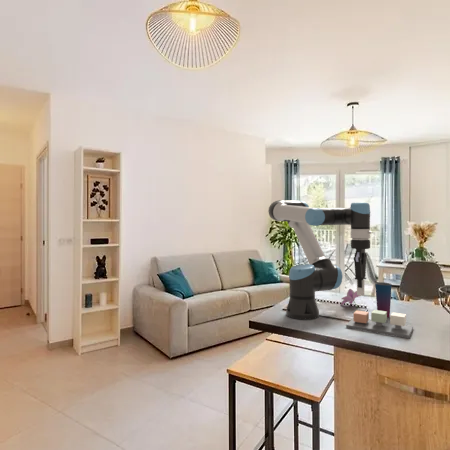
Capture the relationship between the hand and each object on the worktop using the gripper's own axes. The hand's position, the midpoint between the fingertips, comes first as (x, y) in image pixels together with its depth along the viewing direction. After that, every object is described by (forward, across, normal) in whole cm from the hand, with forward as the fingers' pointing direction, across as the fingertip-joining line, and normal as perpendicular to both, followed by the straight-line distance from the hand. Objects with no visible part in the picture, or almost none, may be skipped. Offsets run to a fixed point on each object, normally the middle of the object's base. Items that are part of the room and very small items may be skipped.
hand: (360, 294), depth 139 cm
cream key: (+10, 0, -14) cm, 17 cm away
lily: (+13, +29, +11) cm, 33 cm away
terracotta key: (+11, 0, 0) cm, 11 cm away
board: (+13, 0, -7) cm, 15 cm away
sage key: (+10, 0, -7) cm, 12 cm away
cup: (+13, +19, -6) cm, 24 cm away
